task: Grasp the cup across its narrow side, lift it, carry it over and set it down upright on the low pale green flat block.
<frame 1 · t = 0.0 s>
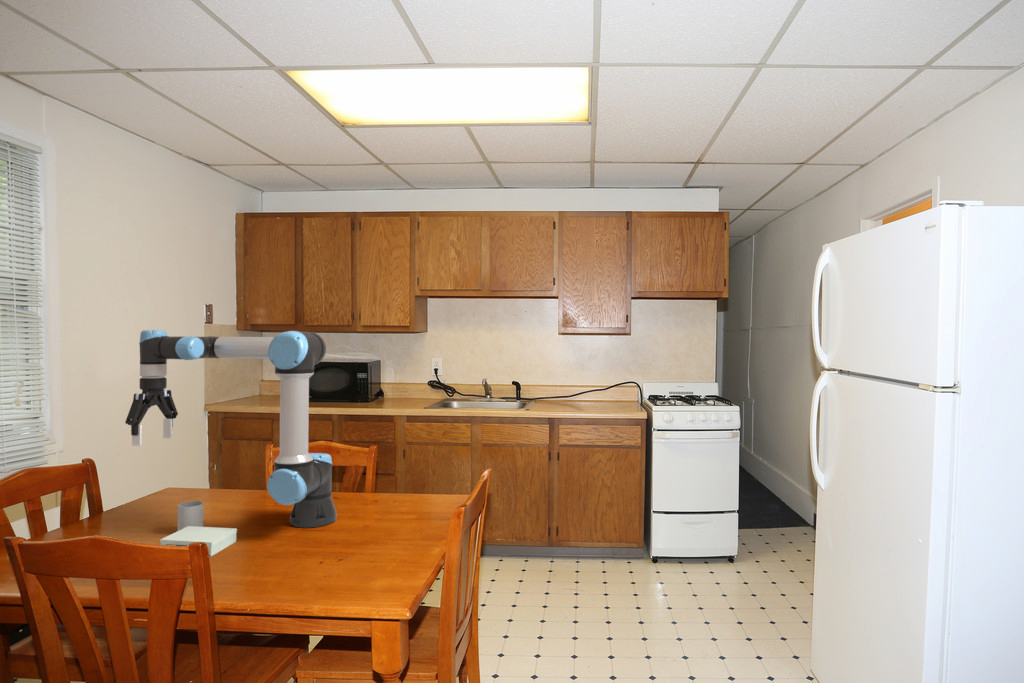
hand: (152, 441, 186), 28 cm above the table, fingers open, 13 cm apart
pale green flat block: (199, 547, 169), on the table
cup: (188, 531, 183), on the table
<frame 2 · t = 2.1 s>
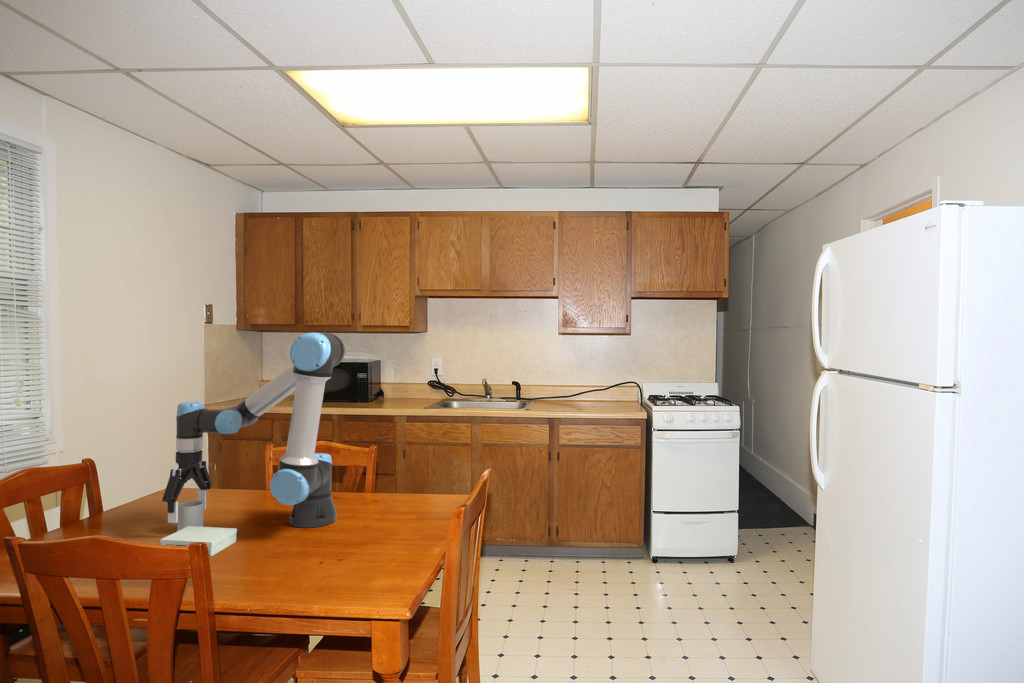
hand: (187, 515, 183), 5 cm above the table, fingers open, 13 cm apart
nothing on the table moved.
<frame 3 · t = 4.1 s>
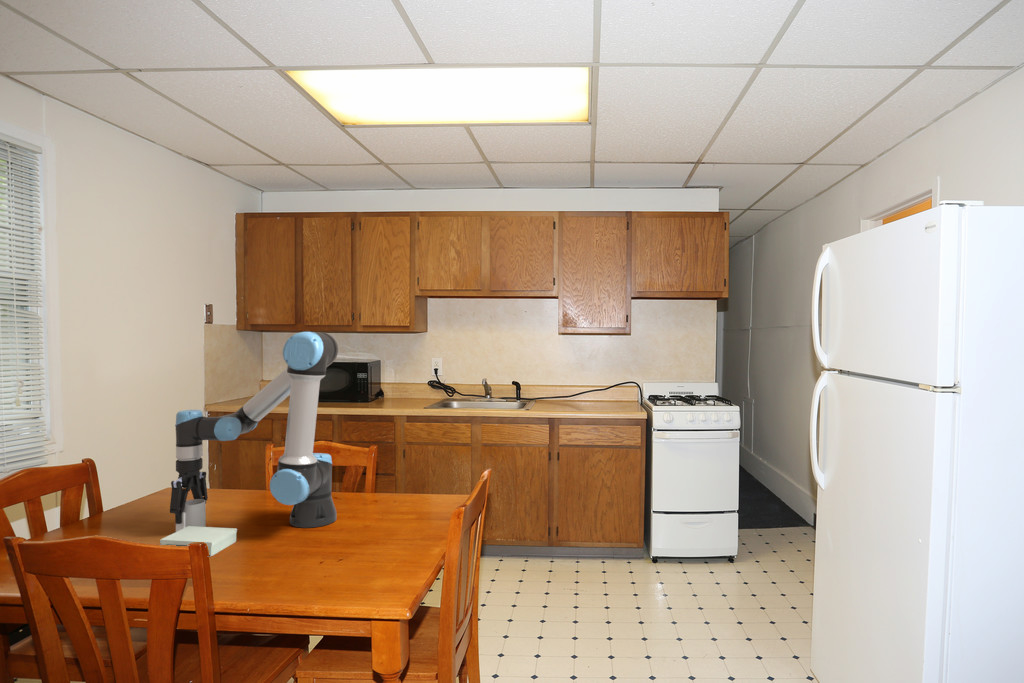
hand: (189, 528, 183), 1 cm above the table, fingers closed on cup, 7 cm apart
cup: (191, 529, 184), on the table, touching gripper
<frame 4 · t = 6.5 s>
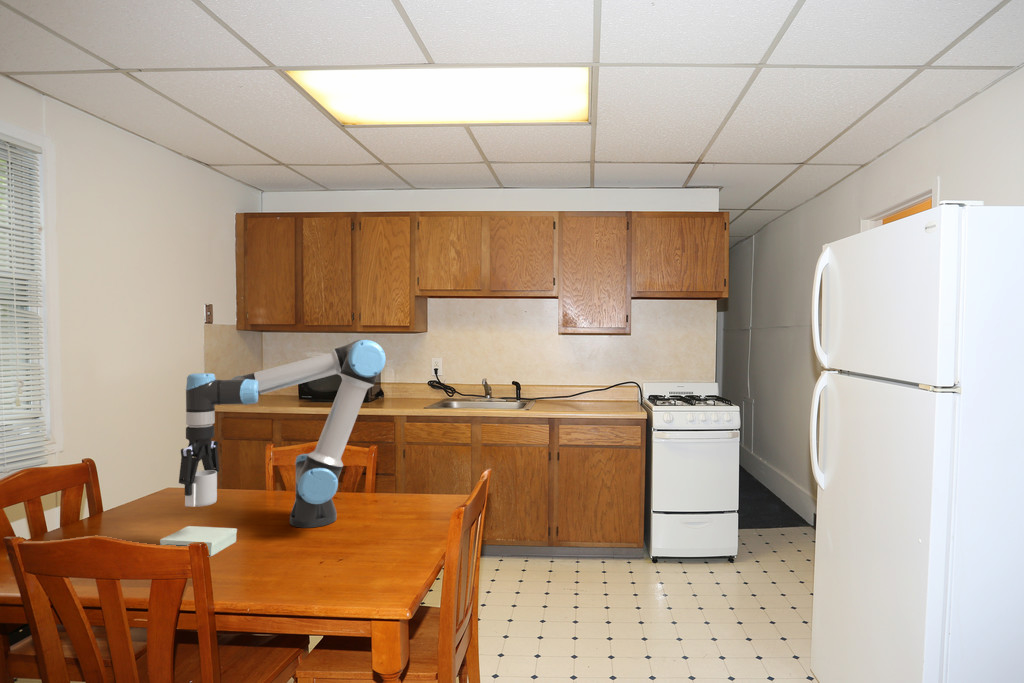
hand: (199, 501, 169), 14 cm above the table, fingers closed on cup, 7 cm apart
cup: (201, 502, 170), point 13 cm above the table, touching gripper
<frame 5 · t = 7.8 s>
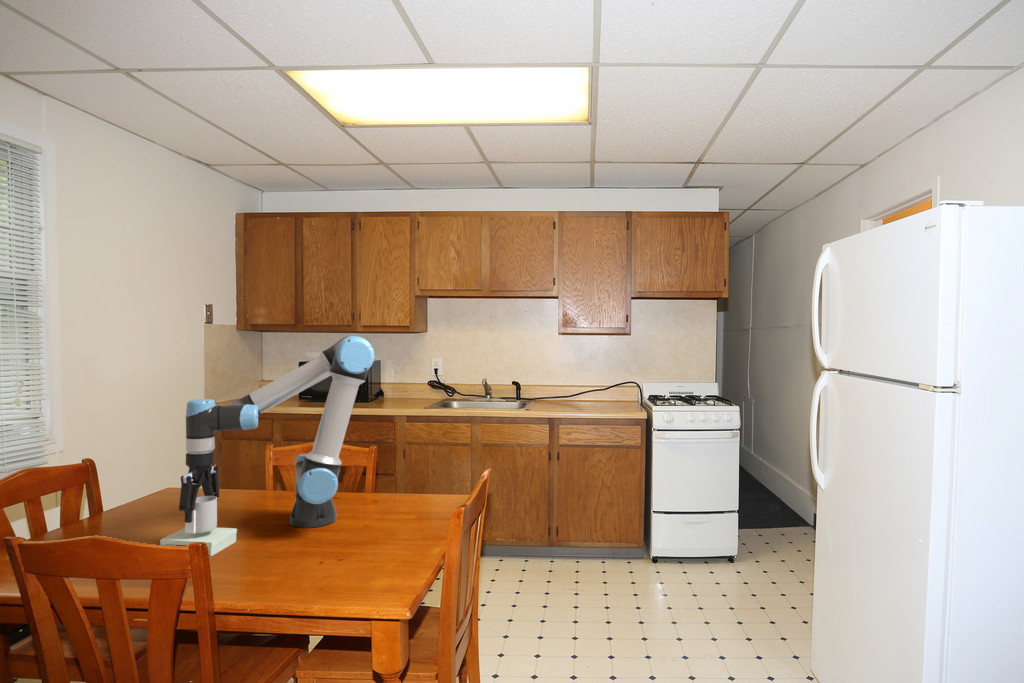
hand: (199, 528, 169), 6 cm above the table, fingers closed on cup, 7 cm apart
cup: (201, 528, 170), point 5 cm above the table, touching gripper
when the fingers open (6 cm above the table, at t = 8.6 s): cup drops 1 cm, resting on pale green flat block.
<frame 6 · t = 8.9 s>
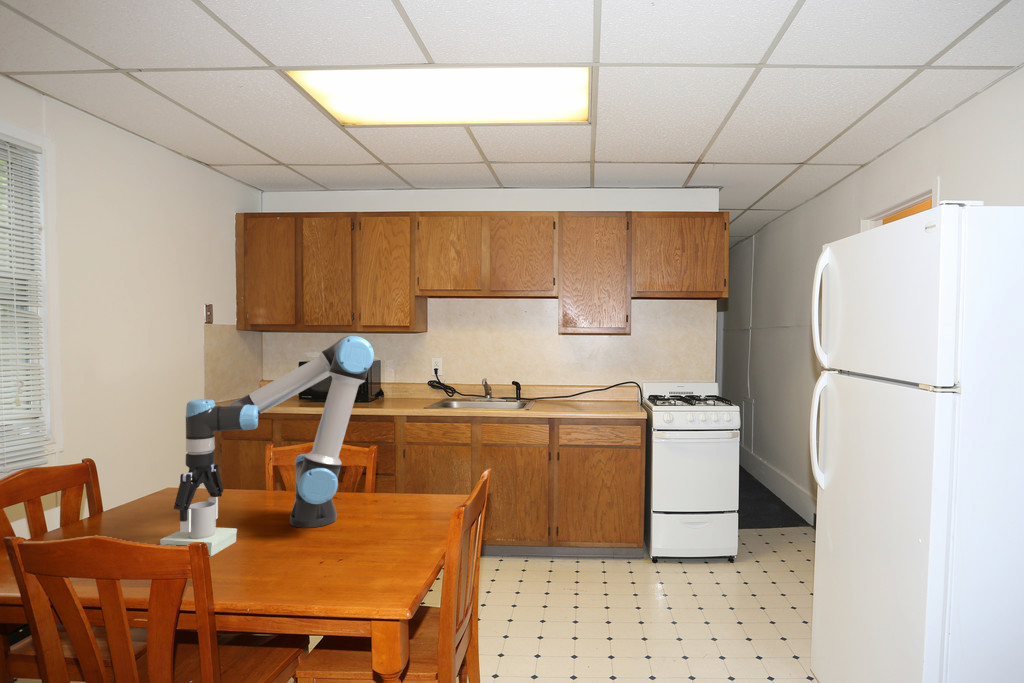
hand: (199, 524, 169), 7 cm above the table, fingers open, 11 cm apart
cup: (200, 534, 169), point 4 cm above the table, touching pale green flat block
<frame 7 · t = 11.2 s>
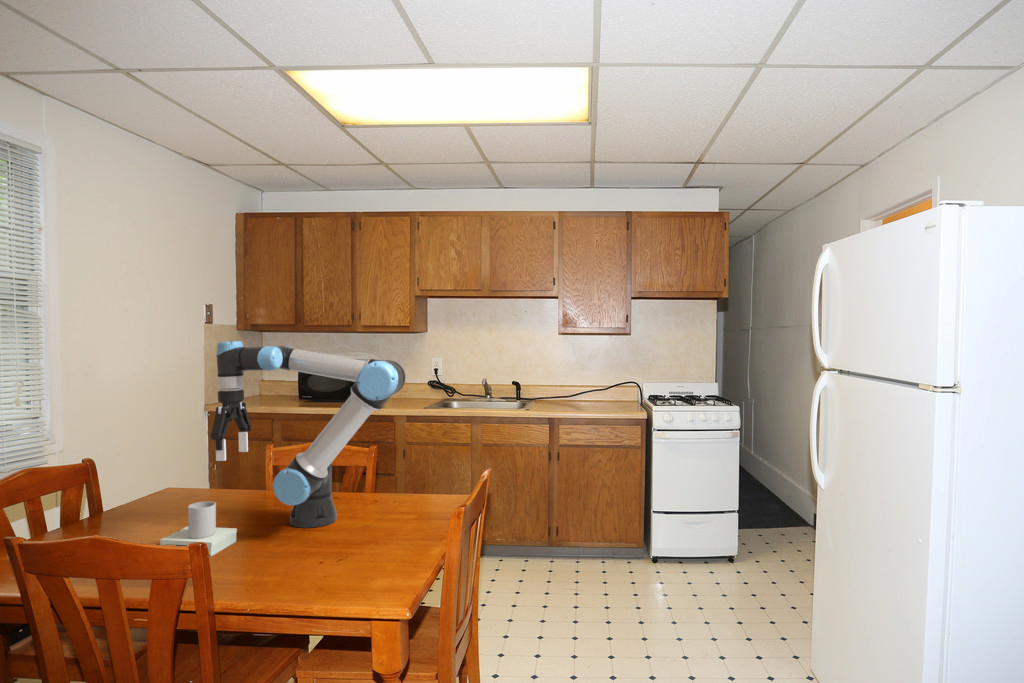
hand: (232, 456, 181), 25 cm above the table, fingers open, 13 cm apart
nothing on the table moved.
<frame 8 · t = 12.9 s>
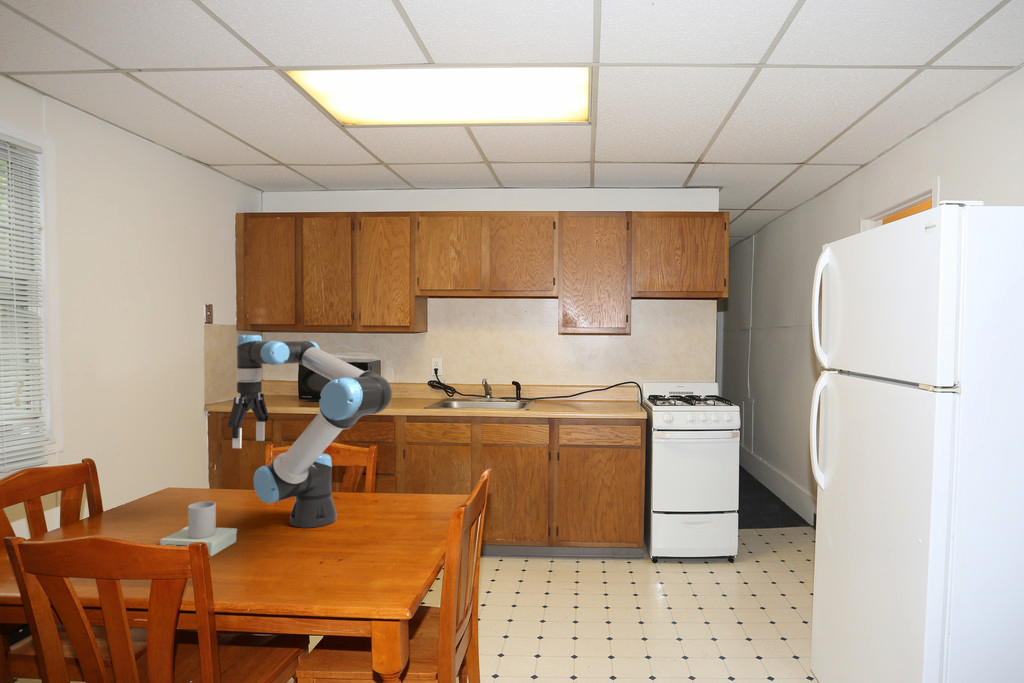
hand: (249, 444, 190), 27 cm above the table, fingers open, 13 cm apart
nothing on the table moved.
at the end: cup inside the target area on the pale green flat block (0.1 cm from its centre), point 3.8 cm above the pale green flat block's base; cup tilted 0°; the gripper is holding nothing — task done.
